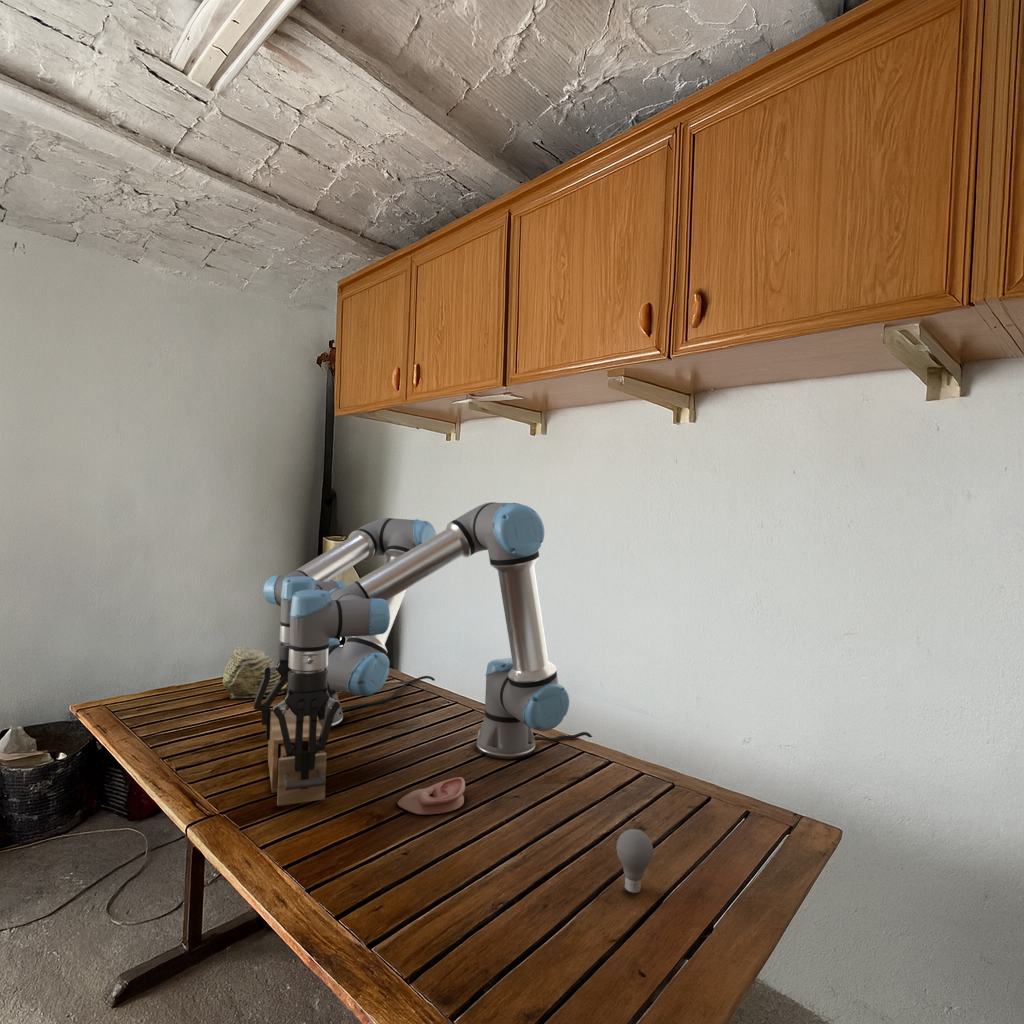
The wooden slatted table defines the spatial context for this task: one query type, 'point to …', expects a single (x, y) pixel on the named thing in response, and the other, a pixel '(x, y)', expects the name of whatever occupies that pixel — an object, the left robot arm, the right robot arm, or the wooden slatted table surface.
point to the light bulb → (634, 857)
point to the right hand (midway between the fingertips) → (303, 786)
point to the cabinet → (278, 739)
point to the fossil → (248, 673)
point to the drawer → (290, 779)
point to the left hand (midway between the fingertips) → (292, 735)
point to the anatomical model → (435, 798)
